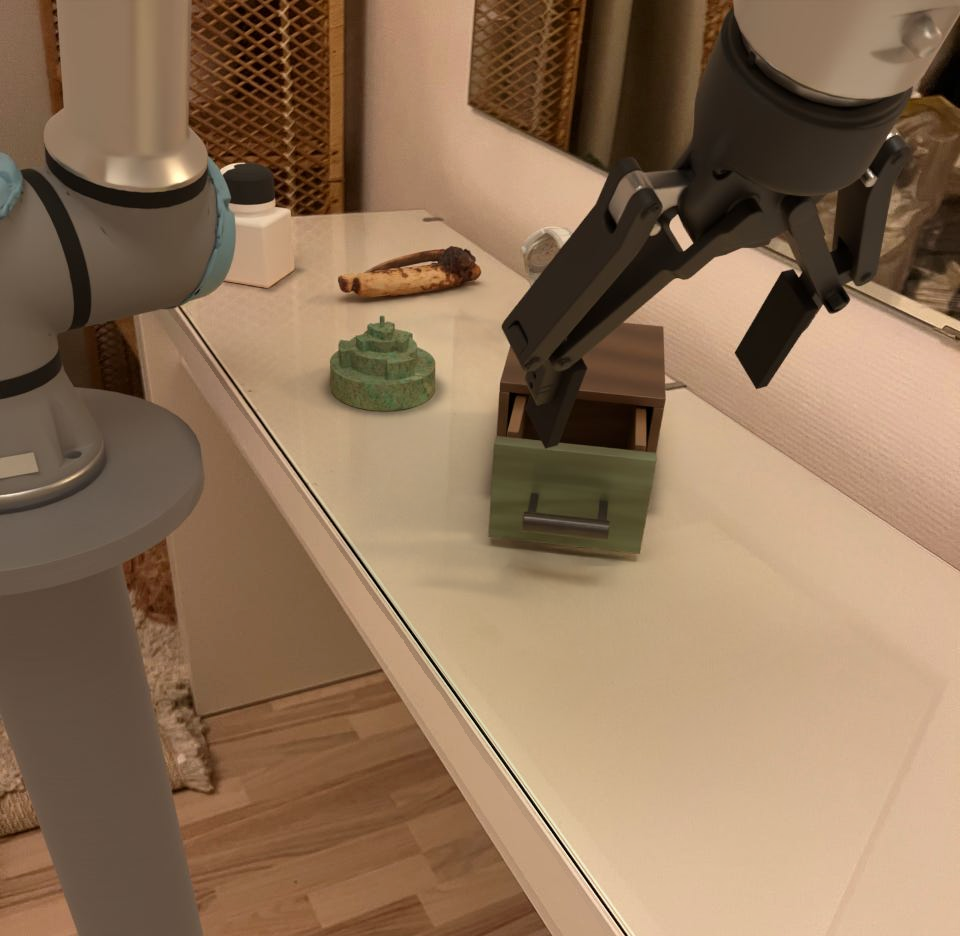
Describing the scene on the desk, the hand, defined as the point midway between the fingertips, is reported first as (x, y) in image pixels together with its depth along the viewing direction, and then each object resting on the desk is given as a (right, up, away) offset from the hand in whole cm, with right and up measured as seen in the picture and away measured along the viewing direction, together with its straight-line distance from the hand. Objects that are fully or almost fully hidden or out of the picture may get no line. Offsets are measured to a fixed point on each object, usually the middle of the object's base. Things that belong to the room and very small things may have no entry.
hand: (649, 397), depth 56 cm
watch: (-2, +20, +53) cm, 56 cm away
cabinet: (-1, +2, +31) cm, 31 cm away
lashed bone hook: (-18, +28, +61) cm, 70 cm away
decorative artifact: (-19, +11, +40) cm, 45 cm away
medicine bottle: (-36, +30, +62) cm, 78 cm away
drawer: (-3, -4, +22) cm, 22 cm away
